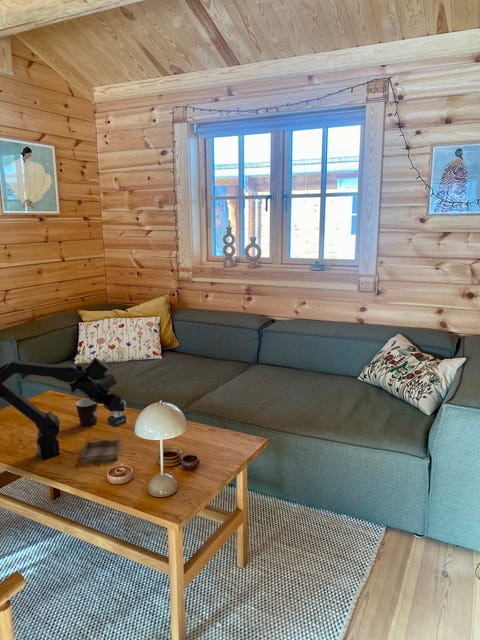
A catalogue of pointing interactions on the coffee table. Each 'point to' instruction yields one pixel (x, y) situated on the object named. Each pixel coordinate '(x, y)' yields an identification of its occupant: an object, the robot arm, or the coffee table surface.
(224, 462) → the coffee table surface
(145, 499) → the coffee table surface
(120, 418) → the watch
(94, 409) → the coffee mug
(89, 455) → the valet tray
